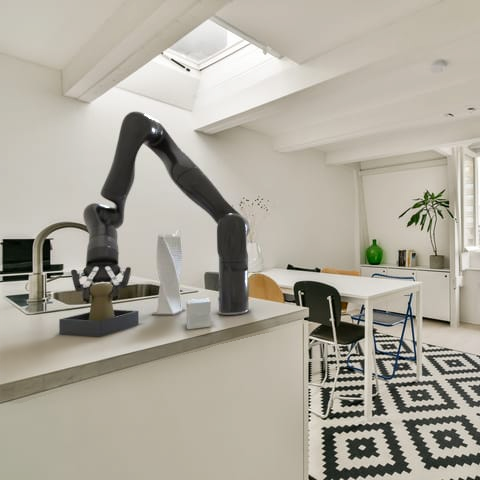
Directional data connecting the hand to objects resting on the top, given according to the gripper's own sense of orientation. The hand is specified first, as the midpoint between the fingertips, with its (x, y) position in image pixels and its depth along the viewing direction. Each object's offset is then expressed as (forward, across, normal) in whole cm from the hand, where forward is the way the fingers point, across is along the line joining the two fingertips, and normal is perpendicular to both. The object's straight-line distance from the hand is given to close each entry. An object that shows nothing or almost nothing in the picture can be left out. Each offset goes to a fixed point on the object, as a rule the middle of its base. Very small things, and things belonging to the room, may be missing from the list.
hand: (101, 299), depth 90 cm
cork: (+4, 0, +6) cm, 7 cm away
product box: (+13, +22, -1) cm, 26 cm away
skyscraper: (-3, +17, +15) cm, 23 cm away
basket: (+5, 0, +7) cm, 8 cm away
